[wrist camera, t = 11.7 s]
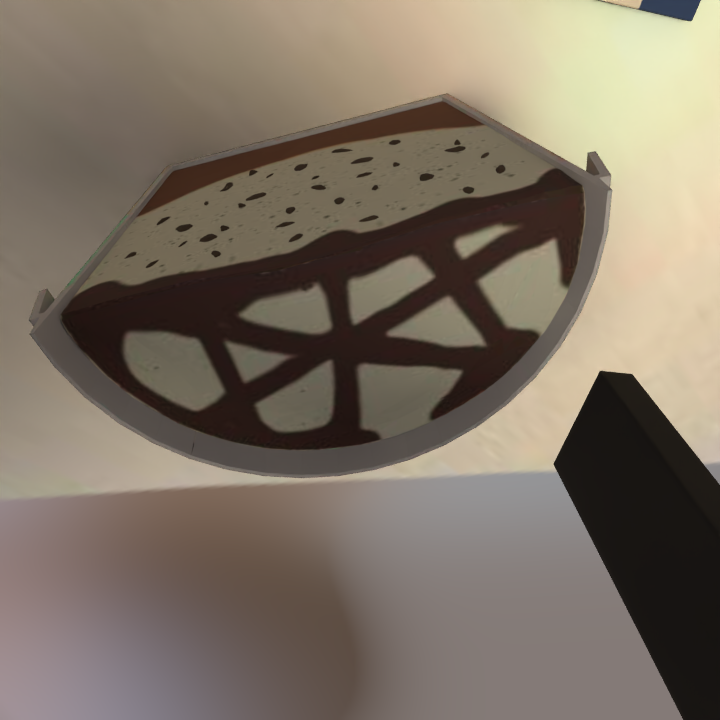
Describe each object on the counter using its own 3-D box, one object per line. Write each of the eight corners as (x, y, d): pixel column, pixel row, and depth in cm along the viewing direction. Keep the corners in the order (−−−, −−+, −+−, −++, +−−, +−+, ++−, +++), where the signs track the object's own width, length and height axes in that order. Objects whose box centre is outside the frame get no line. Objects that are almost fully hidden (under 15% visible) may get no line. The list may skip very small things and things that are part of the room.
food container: (193, 331, 23) (139, 540, 15) (123, 177, 20) (2, 340, 12) (508, 254, 23) (630, 429, 14) (493, 81, 19) (641, 182, 11)
